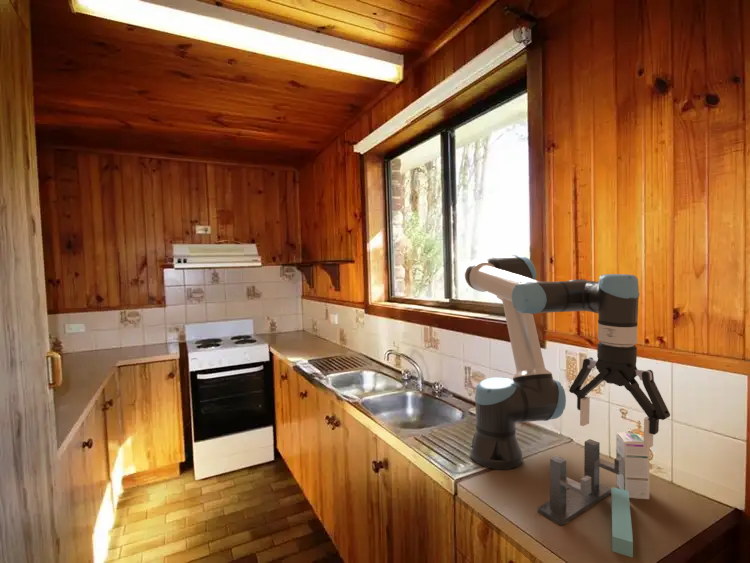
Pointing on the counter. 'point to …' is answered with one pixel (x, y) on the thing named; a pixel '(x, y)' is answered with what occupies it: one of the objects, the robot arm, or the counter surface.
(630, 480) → the syrup box
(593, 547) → the counter surface
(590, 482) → the rack
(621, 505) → the block
